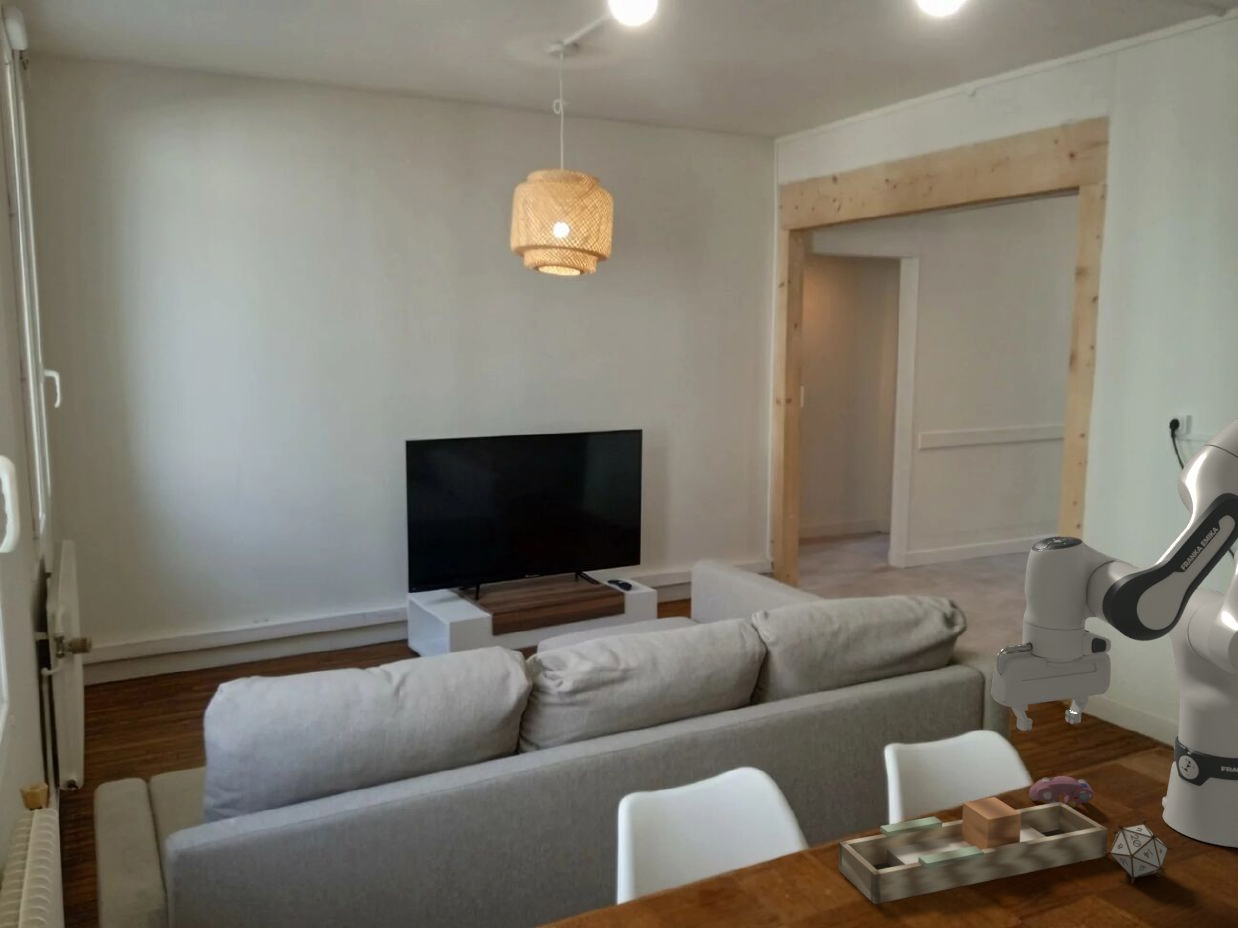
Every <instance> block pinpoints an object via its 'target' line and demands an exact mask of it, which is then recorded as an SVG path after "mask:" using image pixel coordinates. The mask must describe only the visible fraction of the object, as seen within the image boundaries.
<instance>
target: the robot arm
mask: <svg viewBox="0 0 1238 928" xmlns="http://www.w3.org/2000/svg"><path fill="white" fill-rule="evenodd" d="M1177 491H1178V495H1179V498H1180V501H1181V502H1182V504H1183V505H1184V507H1186V509H1187V510H1188V512H1189V517H1188V518H1189V520H1188V522H1187V523H1186V526H1185V527H1184V529H1183V530H1182V531H1181V532H1180V534H1179V535H1178V536H1177V537H1176V538H1175V539H1174V541H1172V543H1171V544H1170V545H1169V547H1168V548H1167V549H1166V550H1165V551H1164V552H1163V554H1161V556H1160V557H1159V558H1158V560H1156V561H1155V562H1154V563H1153V564H1151V565H1149V566H1146V567H1137V566H1135V565H1133V564H1132V563H1129V562H1126V561H1124V560H1122V559H1119V558H1117V557H1113V556H1110V555H1107V554H1105V553H1102V552H1100V551H1098V550H1096V549H1094V548H1092V547H1091V546H1089V545H1088V544H1086V543H1085V542H1084V541H1083V540H1082V539H1080V538H1077V537H1073V536H1053V537H1047V538H1044V539H1040V540H1038V541H1037V542H1036V543H1034V544H1033V545H1032V547H1031V549H1030V551H1029V553H1028V555H1027V556H1028V557H1027V562H1026V568H1025V569H1026V570H1025V576H1024V596H1025V601H1026V602H1025V603H1026V608H1025V611H1024V614H1023V618H1022V641H1021V643H1019V644H1008V645H1005V646H1004V647H1003V649H1001V650H999V652H998V653H997V655H996V657H995V659H996V660H995V665H994V669H993V674H992V681H991V687H990V688H991V690H990V691H991V692H990V695H991V697H992V699H994V701H995V702H997V703H998V704H1000V705H1002V706H1005V707H1008V708H1009V707H1010V708H1011V709H1012V712H1013V714H1014V715H1015V717H1016V727H1017V729H1018V730H1020V731H1021V732H1026V731H1032V729H1033V726H1032V725H1033V719H1032V718H1029V717H1028V716H1027V714H1026V712H1027V711H1028V710H1029V705H1033V704H1040V703H1046V702H1047V703H1048V702H1054V701H1055V702H1056V701H1060V700H1061V701H1062V700H1069V699H1072V703H1071V705H1070V708H1069V709H1066V710H1065V721H1066V722H1067V723H1070V724H1071V725H1074V724H1080V723H1081V721H1082V713H1083V711H1084V710H1085V708H1086V706H1087V705H1088V703H1089V697H1092V696H1098V695H1104V694H1106V693H1107V691H1108V690H1109V688H1110V684H1111V674H1112V673H1111V672H1112V671H1111V669H1112V667H1111V665H1112V664H1111V658H1110V655H1109V654H1108V653H1109V652H1110V650H1111V647H1112V641H1111V639H1109V638H1107V637H1105V636H1103V635H1100V634H1098V633H1095V632H1092V631H1089V630H1086V621H1087V619H1089V618H1097V619H1099V620H1100V621H1103V622H1105V623H1107V624H1109V625H1110V626H1111V627H1113V628H1114V629H1115V630H1117V631H1118V632H1120V633H1121V634H1122V635H1124V636H1125V637H1127V638H1129V639H1130V640H1134V641H1141V642H1142V641H1143V642H1144V641H1145V642H1147V641H1153V640H1154V641H1155V640H1157V639H1160V638H1162V637H1165V635H1167V634H1169V636H1170V637H1169V638H1170V641H1171V646H1172V652H1173V659H1174V664H1175V669H1176V674H1177V675H1176V676H1177V681H1178V688H1179V689H1178V690H1179V713H1178V731H1177V736H1176V737H1175V740H1174V744H1173V750H1174V752H1173V759H1174V761H1173V763H1172V765H1171V770H1170V773H1169V774H1170V775H1169V779H1168V786H1167V792H1166V796H1164V797H1162V799H1161V801H1162V802H1161V804H1162V807H1163V813H1162V819H1163V820H1164V822H1165V823H1166V824H1167V825H1168V826H1169V827H1171V828H1172V829H1174V830H1175V831H1176V832H1178V833H1180V834H1182V835H1185V836H1187V837H1190V838H1192V839H1195V840H1197V841H1201V842H1204V843H1209V844H1212V845H1218V846H1224V847H1232V848H1238V548H1237V549H1236V550H1235V552H1234V556H1233V564H1234V570H1233V575H1232V577H1231V579H1230V581H1229V582H1230V583H1229V584H1228V587H1227V589H1226V592H1225V593H1222V592H1220V591H1217V590H1214V589H1209V588H1198V587H1199V586H1200V585H1201V584H1202V583H1203V582H1204V580H1205V579H1206V578H1207V577H1208V576H1209V575H1210V573H1211V572H1212V571H1213V569H1214V568H1215V567H1216V566H1217V565H1218V563H1219V562H1220V561H1221V560H1222V559H1223V558H1224V556H1225V555H1226V554H1227V553H1228V552H1229V550H1231V548H1232V547H1233V545H1234V544H1235V543H1236V542H1237V540H1238V418H1236V419H1234V420H1233V421H1232V422H1231V423H1229V424H1228V425H1227V426H1225V427H1224V428H1222V429H1221V430H1220V431H1219V432H1218V433H1216V434H1215V435H1214V436H1213V437H1211V438H1210V439H1209V441H1207V443H1205V444H1204V445H1203V446H1202V447H1200V449H1199V450H1198V451H1197V452H1195V454H1194V455H1193V456H1192V457H1191V458H1190V459H1189V461H1187V463H1186V464H1185V465H1184V467H1183V468H1182V470H1181V471H1180V472H1179V475H1178V477H1177Z"/></svg>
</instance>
